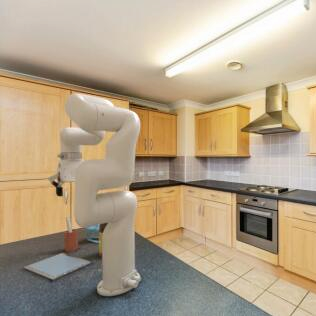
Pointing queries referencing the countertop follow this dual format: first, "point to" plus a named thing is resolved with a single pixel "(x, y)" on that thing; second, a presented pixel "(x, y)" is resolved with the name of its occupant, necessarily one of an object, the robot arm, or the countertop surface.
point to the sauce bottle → (101, 229)
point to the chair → (95, 229)
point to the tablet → (57, 266)
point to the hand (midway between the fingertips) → (72, 194)
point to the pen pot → (71, 240)
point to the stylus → (68, 224)
